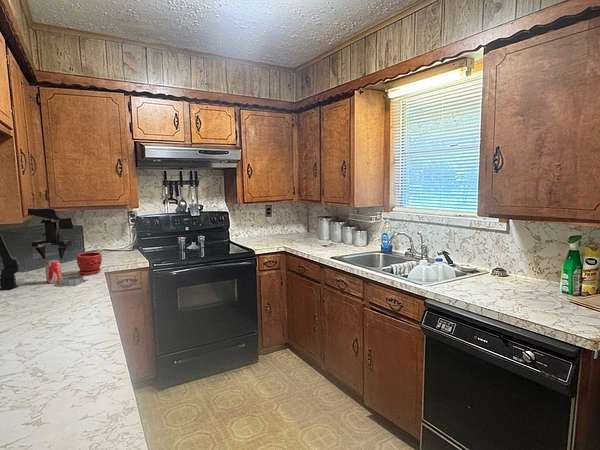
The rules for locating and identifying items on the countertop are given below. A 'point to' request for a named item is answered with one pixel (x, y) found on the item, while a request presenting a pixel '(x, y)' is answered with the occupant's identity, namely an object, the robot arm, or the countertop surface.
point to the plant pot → (89, 263)
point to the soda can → (53, 271)
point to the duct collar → (71, 280)
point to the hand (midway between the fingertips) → (52, 258)
